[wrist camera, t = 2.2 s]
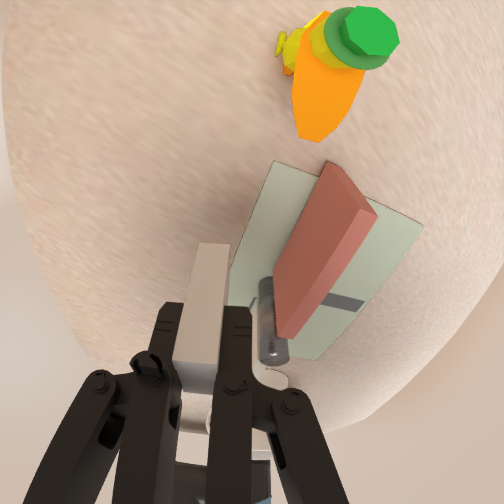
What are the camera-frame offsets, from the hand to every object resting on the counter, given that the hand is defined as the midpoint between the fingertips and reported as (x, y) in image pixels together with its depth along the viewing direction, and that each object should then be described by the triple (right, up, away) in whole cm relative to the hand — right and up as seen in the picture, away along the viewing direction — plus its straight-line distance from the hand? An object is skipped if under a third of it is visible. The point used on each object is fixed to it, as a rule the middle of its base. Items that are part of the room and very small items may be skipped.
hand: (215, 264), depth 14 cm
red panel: (+6, +3, +7) cm, 10 cm away
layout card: (+7, -3, +12) cm, 15 cm away
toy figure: (+5, +13, +1) cm, 14 cm away
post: (+4, -2, +11) cm, 12 cm away
